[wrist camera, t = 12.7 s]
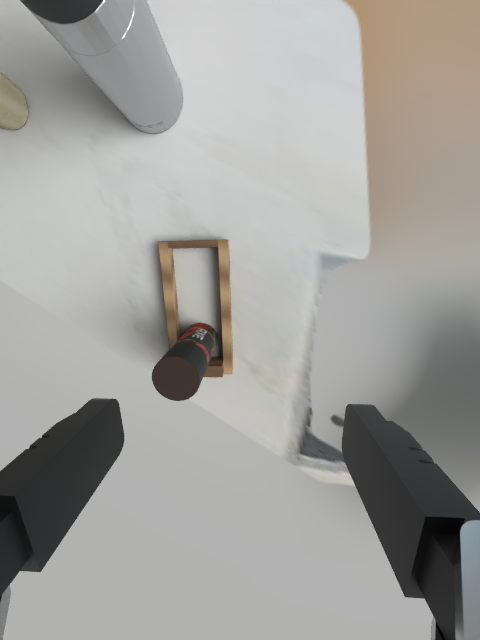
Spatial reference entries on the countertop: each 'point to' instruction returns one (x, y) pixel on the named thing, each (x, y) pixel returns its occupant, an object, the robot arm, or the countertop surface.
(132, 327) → the countertop surface
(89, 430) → the robot arm
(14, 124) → the flower pot
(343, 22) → the countertop surface
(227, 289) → the wooden frame
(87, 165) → the countertop surface
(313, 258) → the countertop surface
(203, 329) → the deodorant
